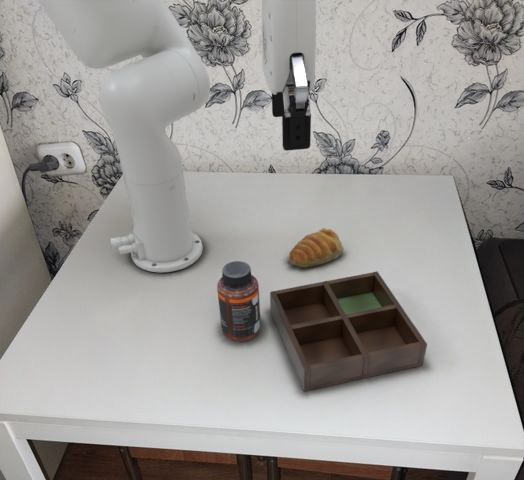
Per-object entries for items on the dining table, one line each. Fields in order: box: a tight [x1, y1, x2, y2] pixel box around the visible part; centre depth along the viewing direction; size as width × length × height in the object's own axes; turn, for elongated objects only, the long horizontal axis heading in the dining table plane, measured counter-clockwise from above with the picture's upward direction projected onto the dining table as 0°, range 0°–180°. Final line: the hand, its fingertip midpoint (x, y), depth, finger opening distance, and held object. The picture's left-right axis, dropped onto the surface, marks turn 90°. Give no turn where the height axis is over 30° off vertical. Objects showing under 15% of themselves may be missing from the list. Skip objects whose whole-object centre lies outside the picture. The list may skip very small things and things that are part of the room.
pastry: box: [289, 227, 344, 269], centre depth 101 cm, size 9×7×4 cm
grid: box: [269, 271, 428, 392], centre depth 86 cm, size 17×17×4 cm
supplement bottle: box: [216, 260, 262, 342], centre depth 85 cm, size 6×6×11 cm
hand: (290, 131), depth 73 cm, fingers open, 9 cm apart
